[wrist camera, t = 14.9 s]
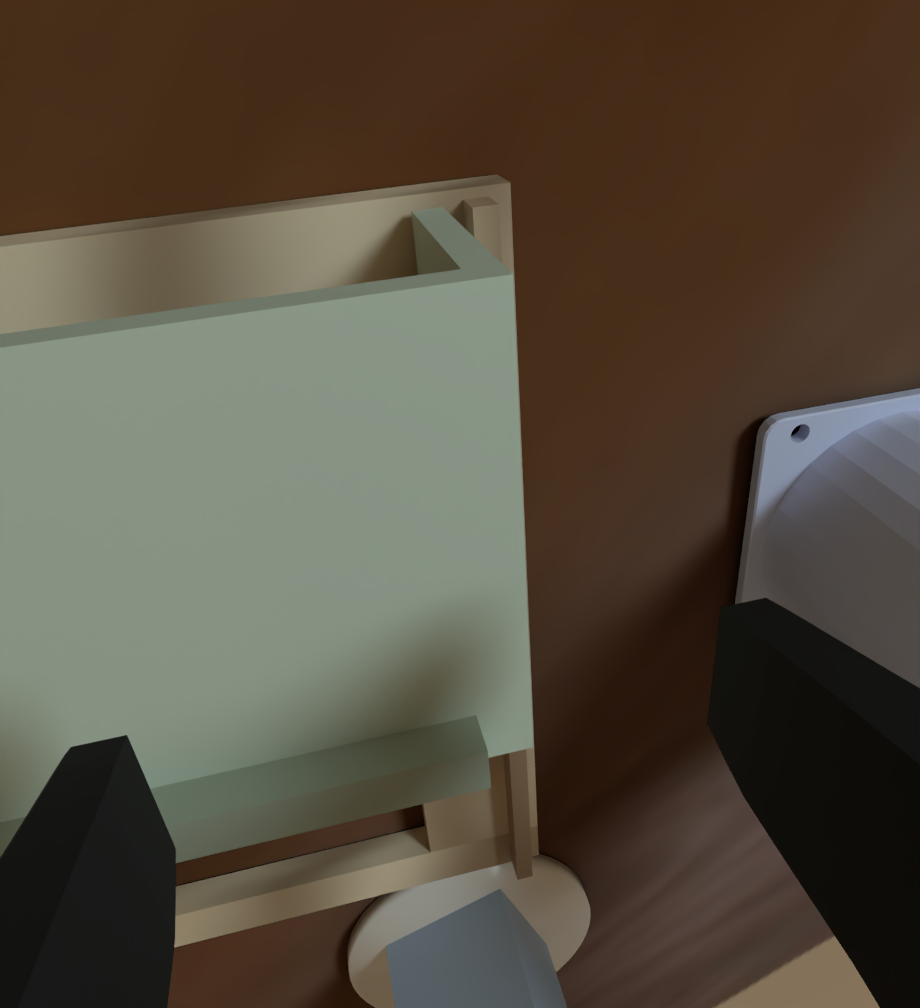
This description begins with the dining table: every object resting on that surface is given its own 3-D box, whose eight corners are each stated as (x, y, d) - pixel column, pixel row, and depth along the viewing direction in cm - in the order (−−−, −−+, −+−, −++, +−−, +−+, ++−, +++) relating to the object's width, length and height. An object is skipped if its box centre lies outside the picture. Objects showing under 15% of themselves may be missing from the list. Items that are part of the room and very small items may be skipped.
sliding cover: (442, 207, 15) (532, 292, 10) (476, 600, 20) (547, 782, 15) (-271, 299, 13) (-572, 455, 8) (-40, 704, 18) (-145, 949, 13)
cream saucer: (585, 824, 28) (591, 839, 27) (584, 964, 33) (589, 979, 32) (327, 889, 26) (329, 906, 26) (365, 1025, 31) (367, 1041, 31)
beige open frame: (496, 174, 16) (521, 189, 15) (530, 829, 27) (546, 876, 26) (-329, 277, 14) (-400, 307, 12) (71, 943, 25) (59, 1002, 24)
